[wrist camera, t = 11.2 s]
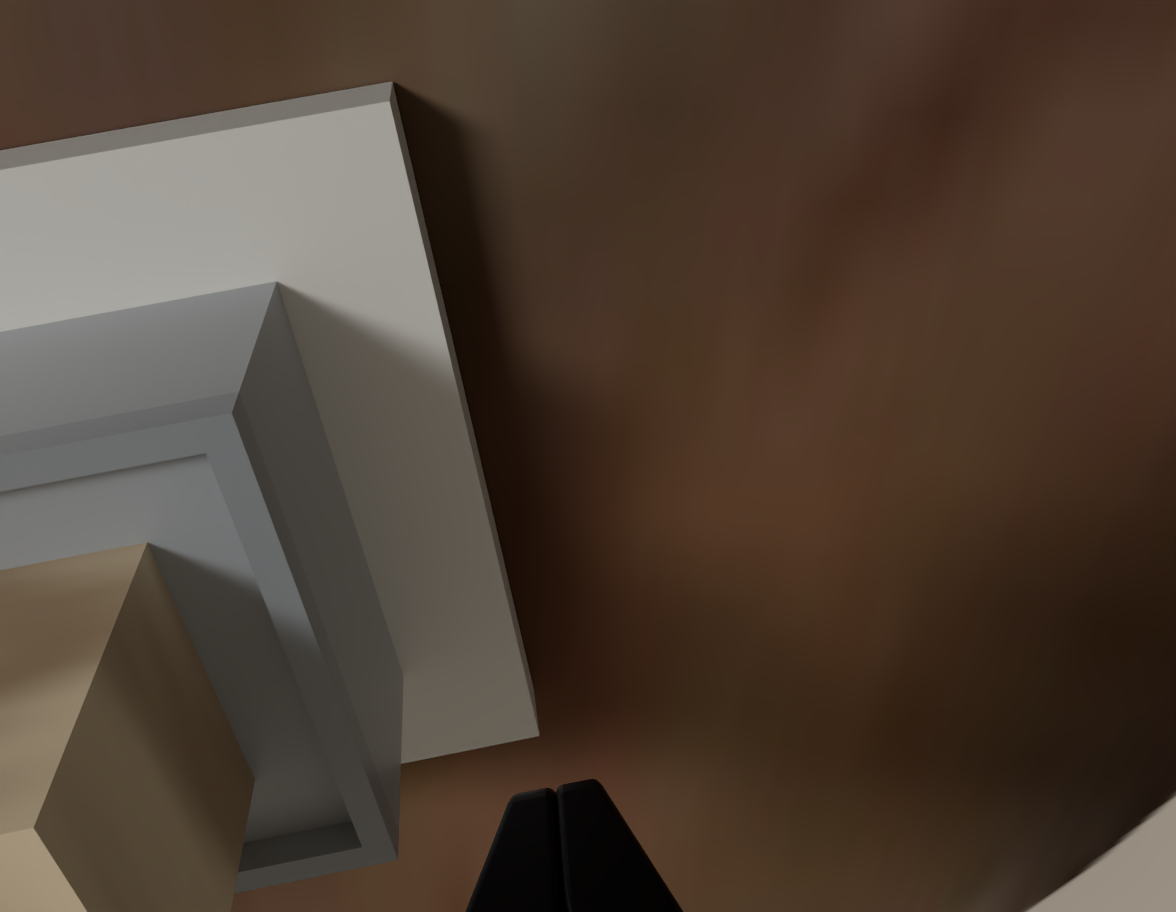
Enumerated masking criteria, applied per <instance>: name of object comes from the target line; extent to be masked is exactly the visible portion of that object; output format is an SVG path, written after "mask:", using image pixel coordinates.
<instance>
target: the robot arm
mask: <svg viewBox="0 0 1176 912" xmlns="http://www.w3.org/2000/svg"><path fill="white" fill-rule="evenodd" d="M466 912H683V911H682V909H681V907H680V906H679V904H678V903H677V901H676V900H675V898H674V897H673V895H672V893H671V892H670V890H669V889H668V887H667V886H666V884H665V882H664V881H663V879H662V878H661V876H660V875H659V873H658V872H657V870H656V868H655V867H654V865H653V864H652V862H651V861H650V859H649V857H648V856H647V854H646V853H645V851H644V850H643V848H642V847H641V845H640V843H639V842H638V840H637V839H636V837H635V836H634V834H633V833H632V831H631V829H630V828H629V826H628V825H627V823H626V822H625V820H624V818H623V817H622V815H621V814H620V812H619V811H618V809H617V808H616V806H615V804H614V803H613V801H612V800H611V798H610V797H609V795H608V793H607V792H606V790H605V789H604V787H603V786H602V784H601V783H600V782H599V781H597V780H595V779H588V780H583V781H578V782H573V783H568V784H563V785H561V786H559V787H558V788H557V791H556V793H555V791H554V790H553V789H550V788H543V789H538V790H533V791H528V792H523V793H518V794H516V795H514V796H513V797H512V798H511V799H510V801H509V803H508V805H507V807H506V810H505V813H504V815H503V818H502V820H501V823H500V825H499V828H498V830H497V833H496V835H495V838H494V841H493V843H492V846H491V848H490V851H489V853H488V856H487V858H486V861H485V864H484V866H483V869H482V871H481V874H480V876H479V879H478V881H477V884H476V886H475V889H474V892H473V894H472V897H471V899H470V902H469V904H468V907H467V909H466Z"/></svg>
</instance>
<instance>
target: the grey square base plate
mask: <svg viewBox="0 0 1176 912" xmlns="http://www.w3.org/2000/svg"><path fill="white" fill-rule="evenodd" d="M146 542H147V543H148V545H149V547H150V549H151V552H152V554H153V556H154V558H155V560H156V563H157V565H158V567H159V569H160V571H161V574H162V576H163V578H164V580H165V582H166V585H167V587H168V589H169V591H170V594H171V596H172V598H173V600H174V602H175V605H176V607H177V609H178V611H179V613H180V616H181V618H182V620H183V622H184V624H185V627H186V629H187V631H188V633H189V635H190V638H191V640H192V642H193V644H194V646H195V649H196V651H197V653H198V655H199V657H200V660H201V662H202V664H203V666H204V668H205V671H206V673H207V675H208V677H209V679H210V682H211V684H212V686H213V688H214V690H215V693H216V695H217V697H218V699H219V701H220V704H221V706H222V708H223V710H224V712H225V715H226V717H227V719H228V721H229V723H230V726H231V728H232V730H233V732H234V734H235V737H236V739H237V741H238V743H239V745H240V748H241V750H242V752H243V754H244V756H245V759H246V761H247V763H248V765H249V767H250V770H251V772H252V774H253V776H254V778H255V782H254V788H253V793H252V799H251V804H250V809H249V815H248V820H247V826H246V831H245V837H244V842H243V847H242V853H241V858H240V864H239V869H238V874H237V880H236V885H235V891H234V893H239V892H244V891H249V890H253V889H258V888H263V887H268V886H273V885H278V884H283V883H288V882H292V881H297V880H302V879H307V878H312V877H317V876H322V875H327V874H331V873H336V872H341V871H346V870H351V869H356V868H361V867H366V866H370V865H375V864H380V863H385V862H390V861H395V860H398V845H399V812H400V779H401V764H403V763H408V762H413V761H418V760H423V759H428V758H433V757H438V756H443V755H448V754H453V753H457V752H462V751H467V750H472V749H477V748H482V747H487V746H492V745H497V744H502V743H507V742H512V741H517V740H522V739H527V738H532V737H537V736H539V728H538V720H537V711H536V703H535V695H534V688H533V684H532V679H531V675H530V671H529V666H528V662H527V658H526V654H525V649H524V645H523V641H522V636H521V632H520V628H519V624H518V619H517V615H516V611H515V606H514V602H513V598H512V593H511V589H510V585H509V581H508V576H507V572H506V568H505V563H504V559H503V555H502V550H501V546H500V542H499V538H498V533H497V529H496V525H495V520H494V516H493V512H492V507H491V503H490V499H489V495H488V490H487V486H486V482H485V477H484V473H483V469H482V464H481V460H480V456H479V452H478V447H477V443H476V439H475V434H474V430H473V426H472V421H471V417H470V413H469V409H468V404H467V400H466V396H465V391H464V387H463V383H462V379H461V374H460V370H459V366H458V361H457V357H456V353H455V348H454V344H453V340H452V336H451V331H450V327H449V323H448V318H447V314H446V310H445V305H444V301H443V297H442V293H441V288H440V284H439V280H438V275H437V271H436V267H435V262H434V258H433V254H432V250H431V245H430V241H429V237H428V232H427V228H426V224H425V219H424V215H423V211H422V207H421V202H420V198H419V194H418V189H417V185H416V181H415V177H414V172H413V168H412V164H411V159H410V155H409V151H408V146H407V142H406V138H405V134H404V129H403V125H402V121H401V116H400V112H399V108H398V103H397V99H396V95H395V91H394V86H393V82H386V83H381V84H375V85H369V86H364V87H358V88H352V89H347V90H341V91H335V92H330V93H324V94H318V95H313V96H307V97H301V98H296V99H290V100H284V101H278V102H273V103H267V104H261V105H256V106H250V107H244V108H239V109H233V110H227V111H222V112H216V113H210V114H205V115H199V116H193V117H188V118H182V119H176V120H171V121H165V122H159V123H154V124H148V125H142V126H137V127H131V128H125V129H120V130H114V131H108V132H103V133H97V134H91V135H86V136H80V137H74V138H69V139H63V140H57V141H52V142H46V143H40V144H34V145H29V146H23V147H17V148H12V149H6V150H0V570H4V569H9V568H14V567H20V566H25V565H30V564H35V563H41V562H46V561H51V560H56V559H62V558H67V557H72V556H77V555H83V554H88V553H93V552H99V551H104V550H109V549H114V548H120V547H125V546H130V545H135V544H141V543H146Z"/></svg>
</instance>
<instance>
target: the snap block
mask: <svg viewBox="0 0 1176 912" xmlns="http://www.w3.org/2000/svg"><path fill="white" fill-rule="evenodd" d="M254 782H255V778H254V776H253V774H252V772H251V770H250V767H249V765H248V763H247V761H246V759H245V756H244V754H243V752H242V750H241V748H240V745H239V743H238V741H237V739H236V737H235V734H234V732H233V730H232V728H231V726H230V723H229V721H228V719H227V717H226V715H225V712H224V710H223V708H222V706H221V704H220V701H219V699H218V697H217V695H216V693H215V690H214V688H213V686H212V684H211V682H210V679H209V677H208V675H207V673H206V671H205V668H204V666H203V664H202V662H201V660H200V657H199V655H198V653H197V651H196V649H195V646H194V644H193V642H192V640H191V638H190V635H189V633H188V631H187V629H186V627H185V624H184V622H183V620H182V618H181V616H180V613H179V611H178V609H177V607H176V605H175V602H174V600H173V598H172V596H171V594H170V591H169V589H168V587H167V585H166V582H165V580H164V578H163V576H162V574H161V571H160V569H159V567H158V565H157V563H156V560H155V558H154V556H153V554H152V552H151V549H150V547H149V545H148V543H147V542H146V543H141V544H135V545H130V546H125V547H120V548H114V549H109V550H104V551H99V552H93V553H88V554H83V555H77V556H72V557H67V558H62V559H56V560H51V561H46V562H41V563H35V564H30V565H25V566H20V567H14V568H9V569H4V570H0V912H231V907H232V902H233V896H234V891H235V885H236V880H237V874H238V869H239V864H240V858H241V853H242V847H243V842H244V837H245V831H246V826H247V820H248V815H249V809H250V804H251V799H252V793H253V788H254Z"/></svg>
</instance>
